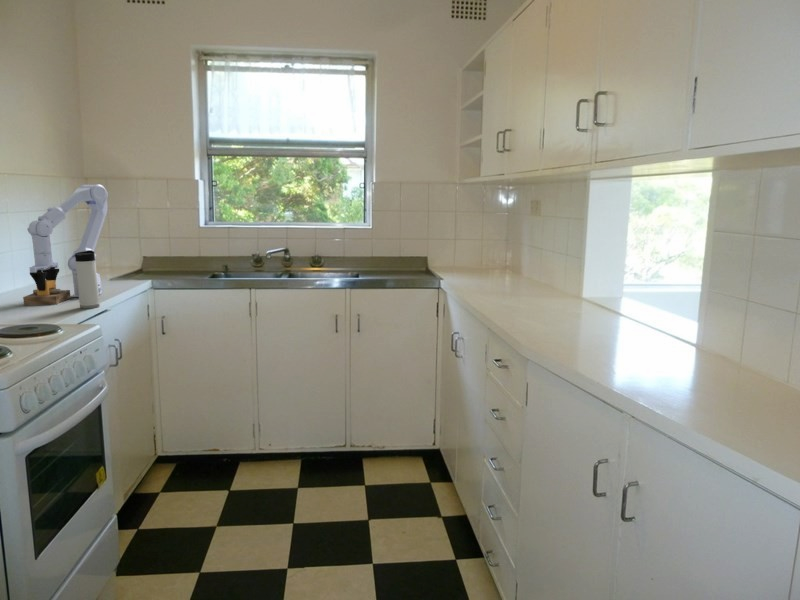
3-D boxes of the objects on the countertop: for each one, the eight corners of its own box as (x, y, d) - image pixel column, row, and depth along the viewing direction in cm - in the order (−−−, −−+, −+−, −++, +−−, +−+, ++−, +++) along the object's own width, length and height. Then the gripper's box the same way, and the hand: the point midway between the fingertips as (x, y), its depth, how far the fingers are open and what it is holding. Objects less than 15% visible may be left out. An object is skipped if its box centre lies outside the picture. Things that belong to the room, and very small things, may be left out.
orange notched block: (56, 297, 231) (55, 280, 230) (48, 299, 226) (46, 282, 225) (46, 297, 232) (44, 280, 230) (37, 299, 226) (36, 282, 225)
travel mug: (103, 305, 221) (98, 250, 217) (93, 308, 214) (87, 252, 211) (87, 305, 221) (82, 250, 218) (76, 308, 215) (70, 252, 211)
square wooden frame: (70, 297, 237) (69, 285, 236) (56, 304, 223) (55, 291, 222) (39, 298, 235) (38, 286, 234) (24, 305, 221) (22, 292, 221)
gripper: (41, 255, 219) (45, 292, 221) (64, 251, 233) (68, 286, 235) (22, 255, 219) (26, 292, 221) (46, 251, 233) (50, 286, 235)
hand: (46, 289), depth 228 cm, fingers closed on orange notched block, 5 cm apart
